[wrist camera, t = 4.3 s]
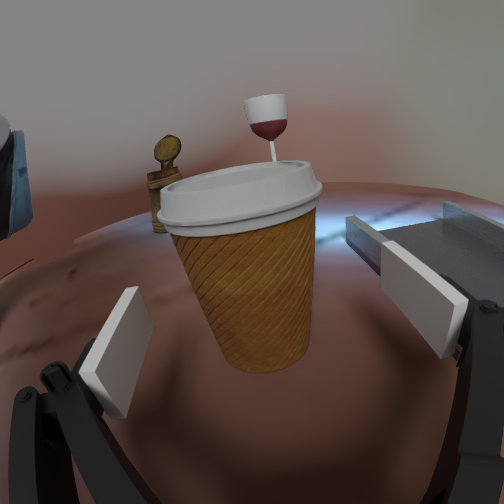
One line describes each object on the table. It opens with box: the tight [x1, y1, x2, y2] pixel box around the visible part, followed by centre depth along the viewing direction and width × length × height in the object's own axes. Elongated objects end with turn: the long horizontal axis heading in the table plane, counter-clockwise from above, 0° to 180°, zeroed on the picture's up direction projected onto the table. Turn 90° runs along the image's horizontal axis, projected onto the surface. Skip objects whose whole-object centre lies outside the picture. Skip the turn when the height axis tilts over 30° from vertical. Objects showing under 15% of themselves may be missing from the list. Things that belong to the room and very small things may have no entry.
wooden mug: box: [147, 135, 183, 233], centre depth 56 cm, size 9×14×18 cm, turn 0°
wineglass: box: [243, 94, 287, 162], centre depth 62 cm, size 9×10×22 cm
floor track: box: [345, 201, 504, 361], centre depth 24 cm, size 22×16×3 cm
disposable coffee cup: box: [157, 161, 322, 373], centre depth 19 cm, size 10×10×12 cm
